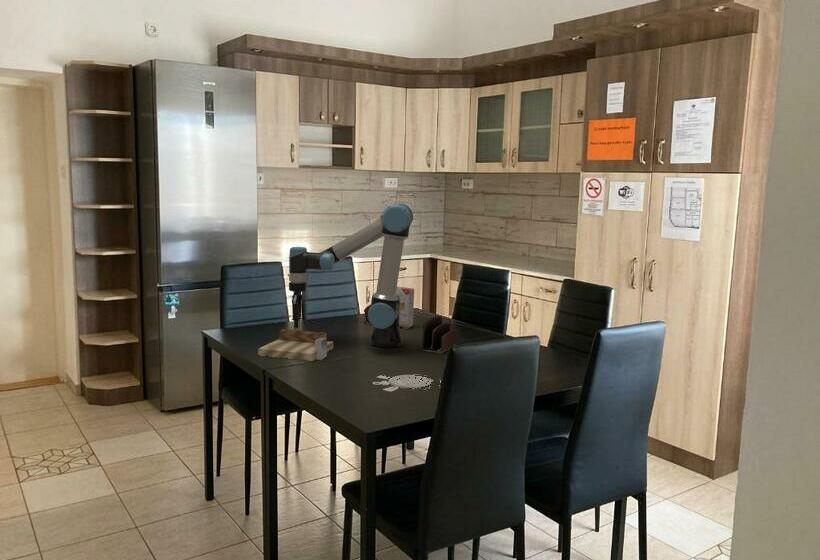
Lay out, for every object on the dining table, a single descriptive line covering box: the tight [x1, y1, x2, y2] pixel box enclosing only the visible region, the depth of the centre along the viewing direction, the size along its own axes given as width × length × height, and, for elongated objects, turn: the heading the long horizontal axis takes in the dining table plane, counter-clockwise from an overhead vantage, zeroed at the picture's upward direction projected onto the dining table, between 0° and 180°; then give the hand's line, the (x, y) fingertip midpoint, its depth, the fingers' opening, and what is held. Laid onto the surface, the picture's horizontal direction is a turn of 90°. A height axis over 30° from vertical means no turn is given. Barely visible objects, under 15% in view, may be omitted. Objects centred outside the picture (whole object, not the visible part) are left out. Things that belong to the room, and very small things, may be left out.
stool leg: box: [278, 328, 328, 343], centre depth 293 cm, size 21×4×5 cm, turn 76°
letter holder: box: [421, 315, 460, 352], centre depth 301 cm, size 10×20×14 cm, turn 154°
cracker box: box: [396, 286, 415, 327], centre depth 345 cm, size 14×6×21 cm, turn 62°
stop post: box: [314, 338, 328, 361], centre depth 276 cm, size 3×6×8 cm, turn 165°
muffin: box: [363, 303, 371, 323], centre depth 355 cm, size 12×11×10 cm
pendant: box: [372, 373, 442, 393], centre depth 246 cm, size 21×28×1 cm
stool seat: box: [257, 338, 334, 362], centre depth 286 cm, size 24×24×3 cm
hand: (296, 334), depth 297 cm, fingers closed
